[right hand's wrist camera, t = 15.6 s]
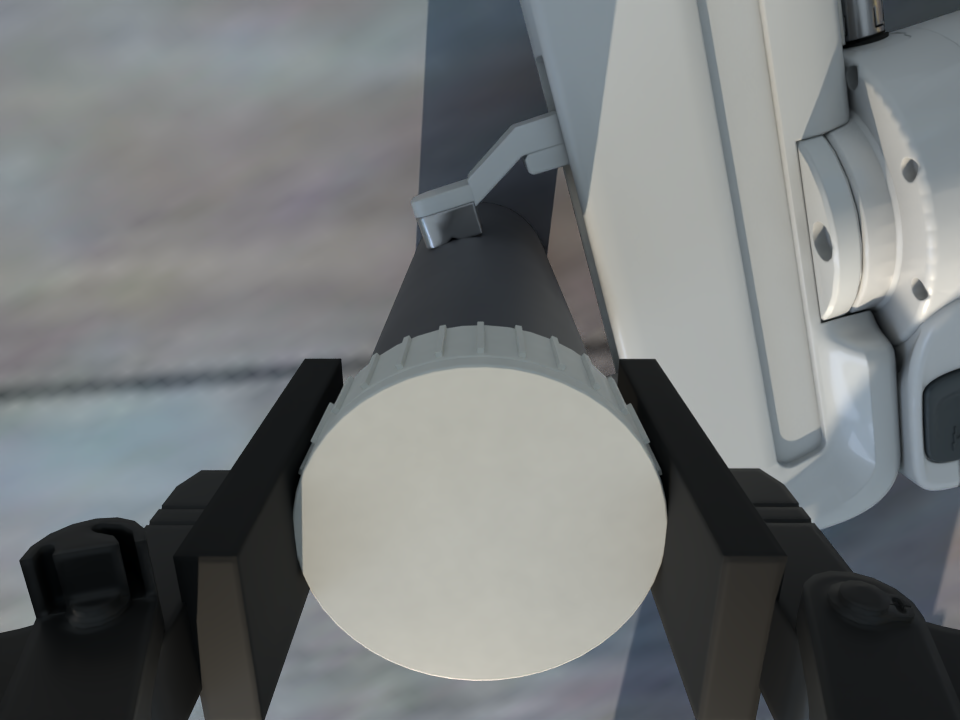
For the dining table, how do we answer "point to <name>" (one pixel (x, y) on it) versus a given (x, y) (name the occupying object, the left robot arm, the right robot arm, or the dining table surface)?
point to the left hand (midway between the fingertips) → (453, 323)
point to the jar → (482, 285)
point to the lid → (480, 505)
